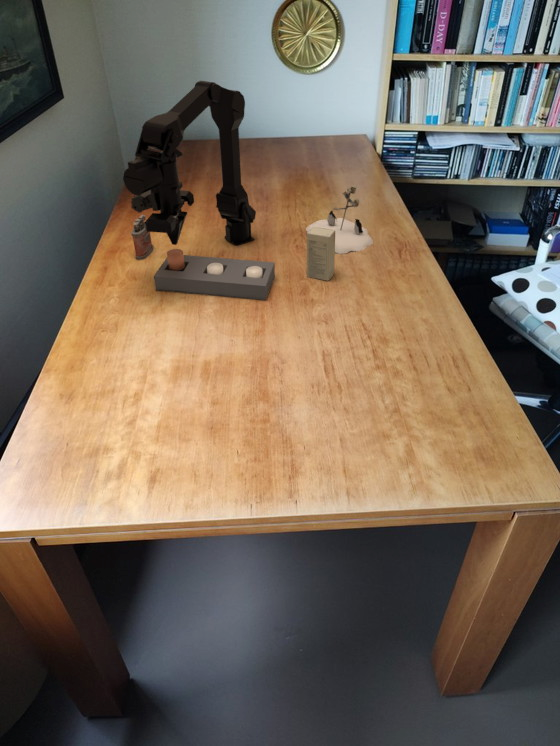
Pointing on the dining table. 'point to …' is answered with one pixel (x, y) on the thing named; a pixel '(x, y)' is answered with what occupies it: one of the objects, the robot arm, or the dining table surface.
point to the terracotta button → (175, 259)
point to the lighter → (141, 239)
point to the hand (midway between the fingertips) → (174, 244)
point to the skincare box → (320, 253)
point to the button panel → (216, 278)
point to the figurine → (346, 229)
